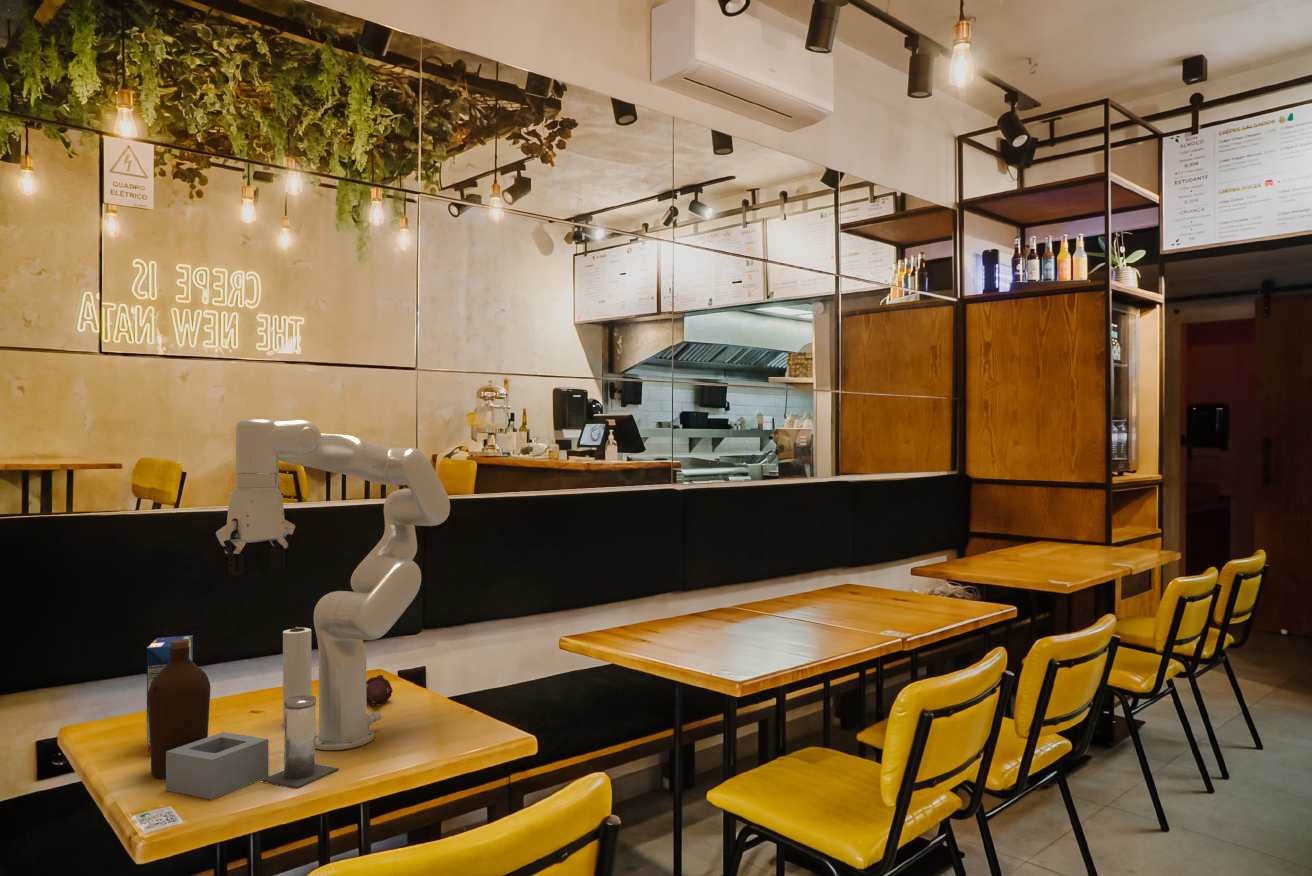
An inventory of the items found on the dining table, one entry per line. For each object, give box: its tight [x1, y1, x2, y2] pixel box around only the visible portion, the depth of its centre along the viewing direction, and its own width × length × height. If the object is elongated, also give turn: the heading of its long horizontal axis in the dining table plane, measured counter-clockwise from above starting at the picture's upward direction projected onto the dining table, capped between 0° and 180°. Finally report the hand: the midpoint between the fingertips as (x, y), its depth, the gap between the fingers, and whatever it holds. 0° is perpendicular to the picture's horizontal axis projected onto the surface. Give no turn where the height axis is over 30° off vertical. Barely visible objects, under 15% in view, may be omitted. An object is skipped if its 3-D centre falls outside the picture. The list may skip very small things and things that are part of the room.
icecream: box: [366, 674, 394, 706], centre depth 208 cm, size 7×7×15 cm
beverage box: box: [146, 635, 194, 758], centre depth 179 cm, size 7×11×22 cm, turn 21°
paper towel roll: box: [282, 626, 313, 727], centre depth 193 cm, size 7×6×21 cm
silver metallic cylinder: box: [283, 695, 317, 780], centre depth 160 cm, size 6×6×14 cm
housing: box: [165, 731, 269, 801], centre depth 157 cm, size 12×12×7 cm
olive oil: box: [148, 639, 211, 780], centre depth 164 cm, size 11×11×25 cm
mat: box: [260, 763, 339, 790], centre depth 160 cm, size 10×9×1 cm
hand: (257, 571), depth 164 cm, fingers open, 9 cm apart
